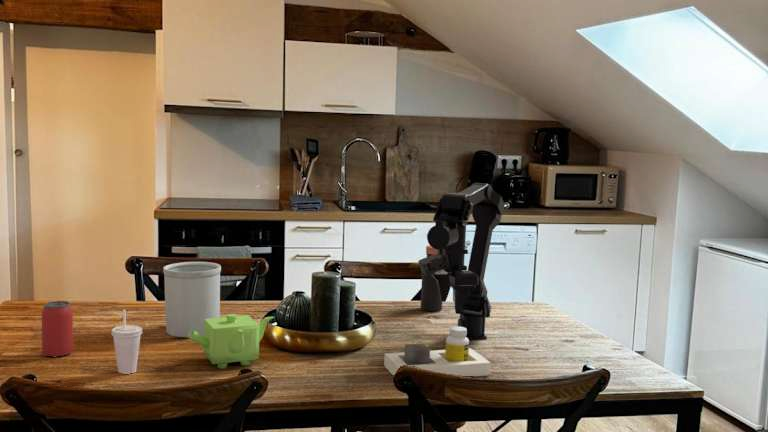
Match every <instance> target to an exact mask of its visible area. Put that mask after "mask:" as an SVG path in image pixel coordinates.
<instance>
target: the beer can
mask: <svg viewBox="0 0 768 432" xmlns="http://www.w3.org/2000/svg"><path fill="white" fill-rule="evenodd" d="M73 316H74V315H73V308H72V307H71V303H70V302H69V301H64V300H55V301H49V302H46V303H44V304H43V308H42V310H41V353H42V355H43V356H45V355H46V356H45V357H47V356H62V357H65V356H64V355H66V356H68V355H67V354H69V355H70V354H72V353H73V351H74V333H73V332H74V326H73V325H74V322H73V320H74V319H73ZM71 352H72V353H71Z"/></svg>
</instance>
